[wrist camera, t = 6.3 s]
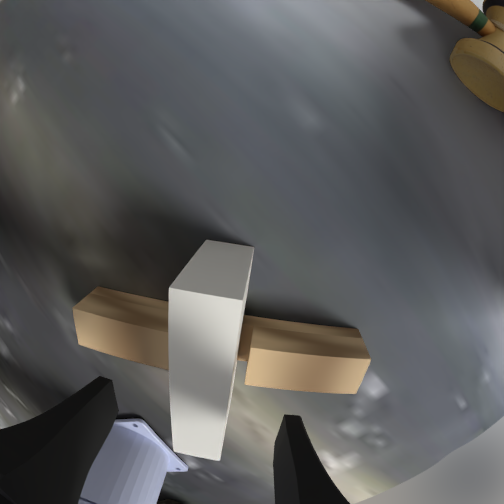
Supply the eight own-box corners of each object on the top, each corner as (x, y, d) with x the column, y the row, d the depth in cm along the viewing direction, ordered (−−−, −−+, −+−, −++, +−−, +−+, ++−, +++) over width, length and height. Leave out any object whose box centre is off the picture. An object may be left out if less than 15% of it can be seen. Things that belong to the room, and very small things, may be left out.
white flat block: (195, 382, 19) (173, 451, 13) (206, 239, 15) (169, 287, 10) (232, 389, 18) (219, 460, 13) (254, 247, 15) (243, 300, 10)
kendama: (301, 4, 12) (534, 185, 12) (306, -75, 6) (602, 176, 5) (352, -44, 11) (548, 108, 11) (365, -103, 5) (599, 87, 5)
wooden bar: (101, 320, 18) (78, 344, 15) (98, 286, 17) (72, 307, 14) (346, 361, 17) (355, 393, 14) (358, 329, 16) (371, 359, 14)
